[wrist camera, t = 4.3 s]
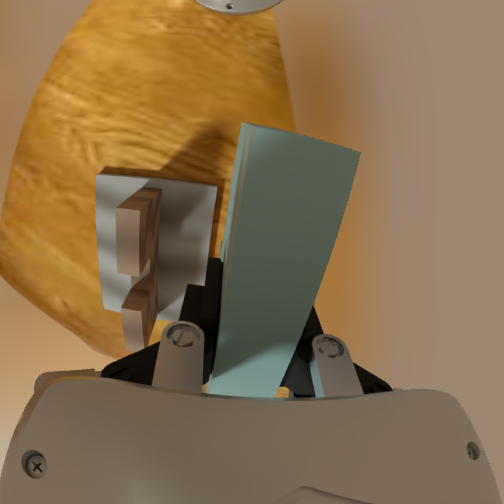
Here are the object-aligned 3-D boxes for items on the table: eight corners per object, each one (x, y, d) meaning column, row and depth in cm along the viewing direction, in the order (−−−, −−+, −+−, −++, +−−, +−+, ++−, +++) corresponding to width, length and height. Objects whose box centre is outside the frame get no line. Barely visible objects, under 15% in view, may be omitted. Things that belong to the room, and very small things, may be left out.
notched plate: (241, 121, 18) (255, 126, 5) (275, 128, 18) (360, 152, 6) (214, 291, 24) (202, 444, 11) (241, 294, 24) (249, 446, 12)
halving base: (99, 172, 29) (60, 191, 21) (218, 185, 31) (211, 208, 23) (106, 305, 38) (84, 345, 30) (201, 321, 40) (195, 367, 32)
